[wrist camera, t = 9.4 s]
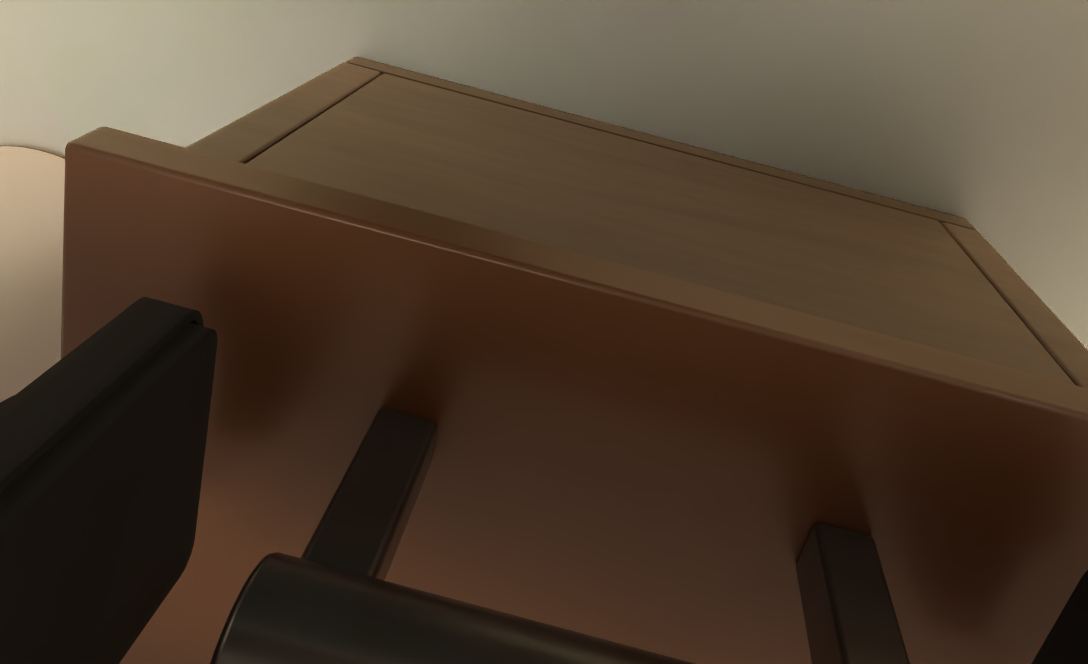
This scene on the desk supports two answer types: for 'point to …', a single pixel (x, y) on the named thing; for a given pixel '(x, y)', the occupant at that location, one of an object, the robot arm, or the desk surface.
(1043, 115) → the desk surface
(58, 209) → the cosmetic bottle
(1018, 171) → the desk surface
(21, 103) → the desk surface
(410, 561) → the lid
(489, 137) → the chest
